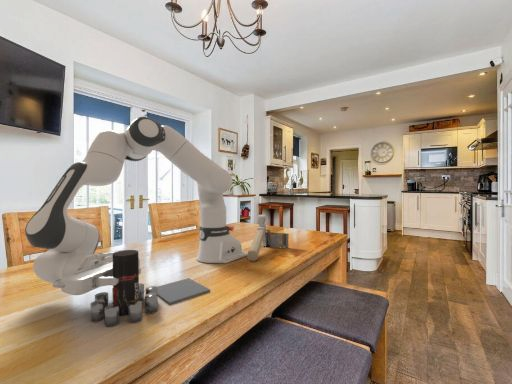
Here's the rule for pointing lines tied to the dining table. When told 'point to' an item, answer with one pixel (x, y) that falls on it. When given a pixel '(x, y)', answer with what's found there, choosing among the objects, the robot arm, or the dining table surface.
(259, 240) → the hammer
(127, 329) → the dining table surface
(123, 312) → the deodorant
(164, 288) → the slate mat
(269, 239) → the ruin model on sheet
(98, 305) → the grey upright cylinders
